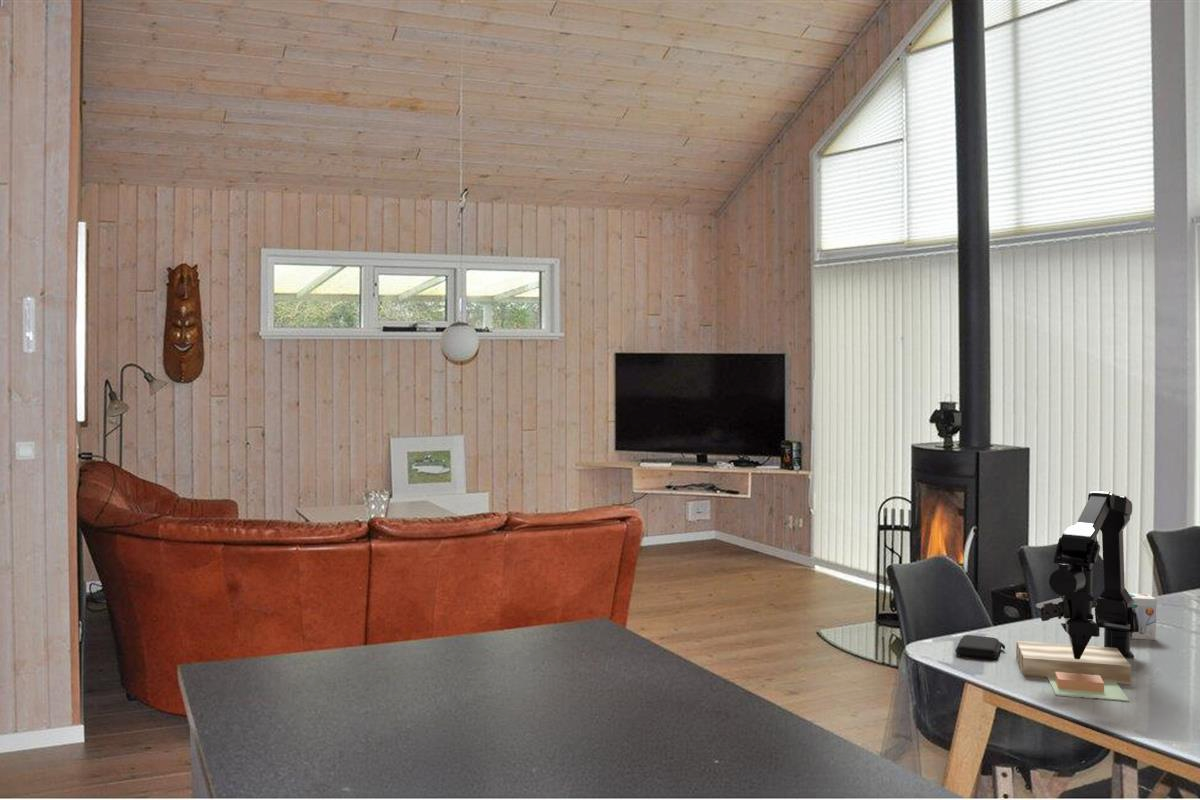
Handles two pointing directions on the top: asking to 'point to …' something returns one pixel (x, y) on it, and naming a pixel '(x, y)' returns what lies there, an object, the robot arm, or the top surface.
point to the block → (1079, 681)
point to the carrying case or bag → (979, 647)
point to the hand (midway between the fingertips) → (1076, 658)
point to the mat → (1110, 691)
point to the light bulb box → (1145, 616)
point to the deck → (1072, 661)
